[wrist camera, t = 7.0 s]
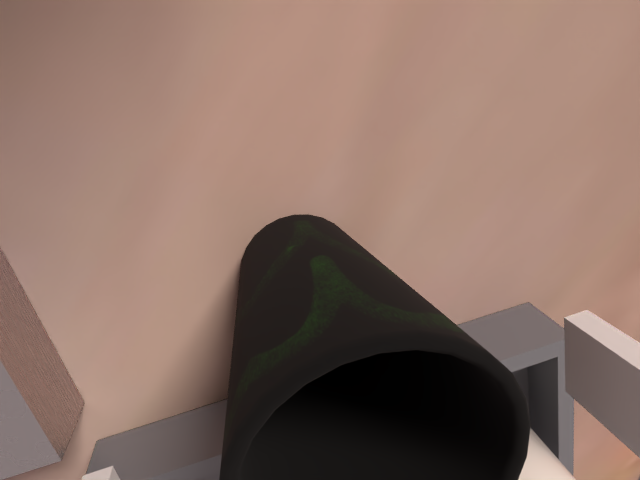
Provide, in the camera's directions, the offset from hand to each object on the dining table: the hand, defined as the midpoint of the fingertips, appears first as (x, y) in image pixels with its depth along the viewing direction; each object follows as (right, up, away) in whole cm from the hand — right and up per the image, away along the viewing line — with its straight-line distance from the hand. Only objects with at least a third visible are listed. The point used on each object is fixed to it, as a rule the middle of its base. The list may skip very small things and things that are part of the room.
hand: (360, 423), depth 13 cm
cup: (-2, +4, +9) cm, 10 cm away
